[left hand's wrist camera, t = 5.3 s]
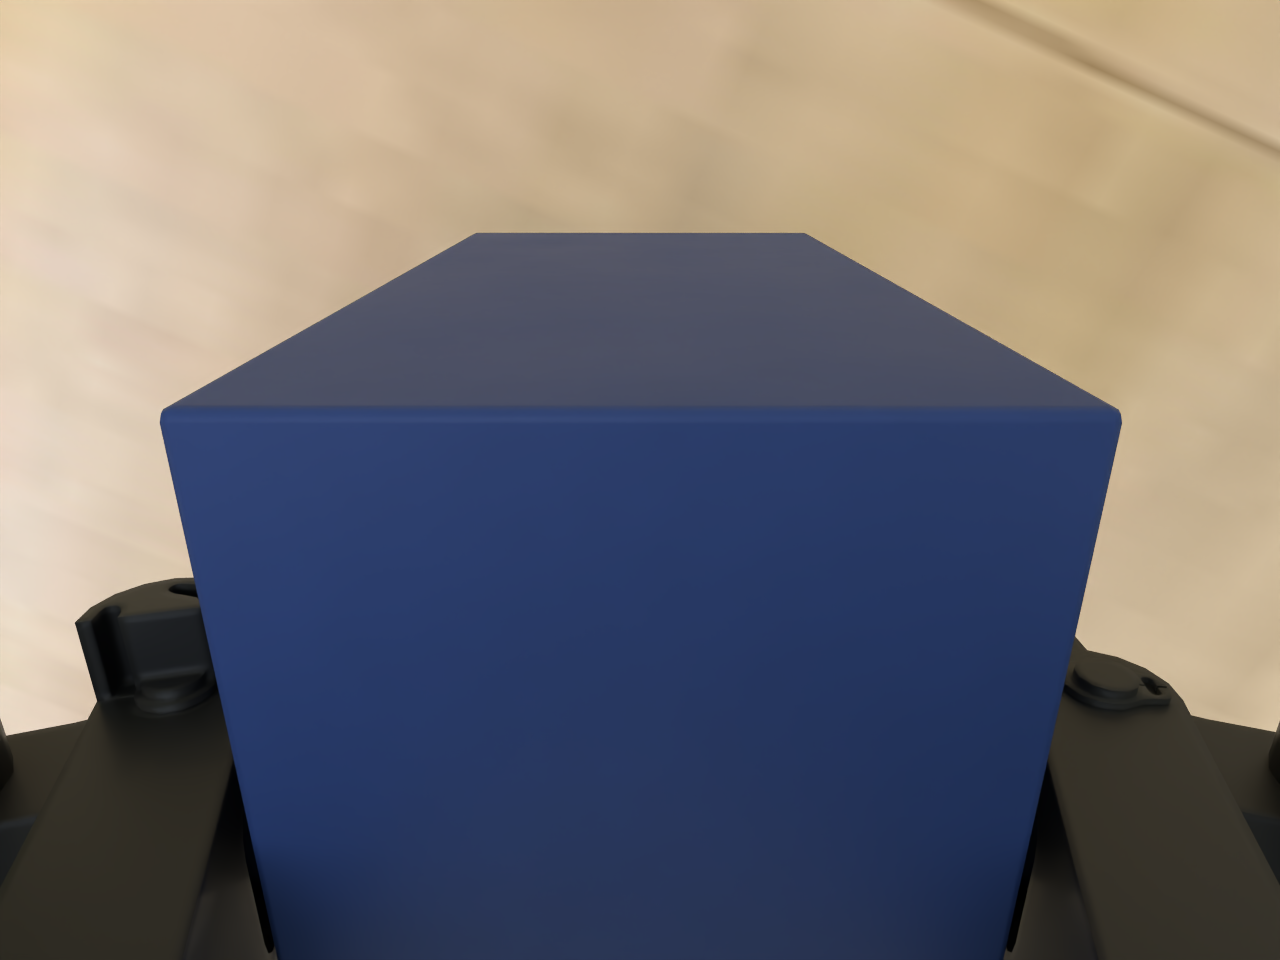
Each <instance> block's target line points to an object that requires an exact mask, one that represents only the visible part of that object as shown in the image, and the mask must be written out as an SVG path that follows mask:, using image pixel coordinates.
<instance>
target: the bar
mask: <svg viewBox="0 0 1280 960" xmlns="http://www.w3.org/2000/svg"><path fill="white" fill-rule="evenodd" d="M1121 425H1122V420H1121V414H1120V412H1119V410H1118V409H1116V408H1115V407H1113V406H1111V405H1109V404H1108V403H1106V402H1104V401H1102V400H1100V399H1099V398H1097V397H1095V396H1093V395H1092V394H1090V393H1088V392H1086V391H1084V390H1083V389H1081V388H1079V387H1077V386H1076V385H1074V384H1072V383H1070V382H1068V381H1067V380H1065V379H1063V378H1061V377H1060V376H1058V375H1056V374H1054V373H1052V372H1051V371H1049V370H1047V369H1045V368H1044V367H1042V366H1040V365H1038V364H1036V363H1035V362H1033V361H1031V360H1029V359H1028V358H1026V357H1024V356H1022V355H1020V354H1019V353H1017V352H1015V351H1013V350H1012V349H1010V348H1008V347H1006V346H1004V345H1003V344H1001V343H999V342H997V341H996V340H994V339H992V338H990V337H988V336H987V335H985V334H983V333H981V332H980V331H978V330H976V329H974V328H972V327H971V326H969V325H967V324H965V323H964V322H962V321H960V320H958V319H956V318H955V317H953V316H951V315H949V314H948V313H946V312H944V311H942V310H940V309H939V308H937V307H935V306H933V305H932V304H930V303H928V302H926V301H924V300H923V299H921V298H919V297H917V296H916V295H914V294H912V293H910V292H908V291H907V290H905V289H903V288H901V287H900V286H898V285H896V284H894V283H892V282H891V281H889V280H887V279H885V278H884V277H882V276H880V275H878V274H876V273H875V272H873V271H871V270H869V269H868V268H866V267H864V266H862V265H860V264H859V263H857V262H855V261H853V260H852V259H850V258H848V257H846V256H844V255H843V254H841V253H839V252H837V251H836V250H834V249H832V248H830V247H828V246H827V245H825V244H823V243H821V242H820V241H818V240H816V239H814V238H813V237H811V236H809V235H807V234H805V233H476V234H473V235H472V236H470V237H468V238H466V239H464V240H463V241H461V242H459V243H457V244H456V245H454V246H452V247H450V248H448V249H447V250H445V251H443V252H441V253H440V254H438V255H436V256H434V257H433V258H431V259H429V260H427V261H425V262H424V263H422V264H420V265H418V266H417V267H415V268H413V269H411V270H409V271H408V272H406V273H404V274H402V275H401V276H399V277H397V278H395V279H394V280H392V281H390V282H388V283H386V284H385V285H383V286H381V287H379V288H378V289H376V290H374V291H372V292H370V293H369V294H367V295H365V296H363V297H362V298H360V299H358V300H356V301H355V302H353V303H351V304H349V305H347V306H346V307H344V308H342V309H340V310H339V311H337V312H335V313H333V314H331V315H330V316H328V317H326V318H324V319H323V320H321V321H319V322H317V323H316V324H314V325H312V326H310V327H308V328H307V329H305V330H303V331H301V332H300V333H298V334H296V335H294V336H292V337H291V338H289V339H287V340H285V341H284V342H282V343H280V344H278V345H277V346H275V347H273V348H271V349H269V350H268V351H266V352H264V353H262V354H261V355H259V356H257V357H255V358H253V359H252V360H250V361H248V362H246V363H245V364H243V365H241V366H239V367H238V368H236V369H234V370H232V371H230V372H229V373H227V374H225V375H223V376H222V377H220V378H218V379H216V380H214V381H213V382H211V383H209V384H207V385H206V386H204V387H202V388H200V389H199V390H197V391H195V392H193V393H191V394H190V395H188V396H186V397H184V398H183V399H181V400H179V401H177V402H175V403H174V404H172V405H170V406H168V407H167V408H165V409H163V411H162V413H161V418H160V426H161V430H162V435H163V439H164V444H165V448H166V453H167V457H168V462H169V467H170V471H171V476H172V480H173V485H174V489H175V494H176V499H177V503H178V508H179V512H180V517H181V521H182V526H183V530H184V535H185V540H186V544H187V549H188V553H189V558H190V562H191V567H192V571H193V576H194V581H195V585H196V590H197V594H198V599H199V603H200V608H201V612H202V617H203V622H204V626H205V631H206V635H207V640H208V644H209V649H210V653H211V658H212V663H213V667H214V672H215V676H216V681H217V685H218V690H219V694H220V699H221V704H222V708H223V713H224V717H225V722H226V726H227V731H228V735H229V740H230V745H231V749H232V754H233V758H234V763H235V767H236V772H237V777H238V781H239V786H240V790H241V795H242V799H243V804H244V808H245V813H246V818H247V822H248V827H249V831H250V836H251V840H252V845H253V849H254V854H255V859H256V863H257V868H258V872H259V877H260V881H261V886H262V890H263V895H264V900H265V904H266V909H267V913H268V918H269V922H270V927H271V931H272V936H273V941H274V945H275V950H276V954H277V959H278V960H1003V959H1004V954H1005V950H1006V945H1007V941H1008V936H1009V932H1010V927H1011V923H1012V918H1013V914H1014V909H1015V905H1016V900H1017V896H1018V891H1019V886H1020V882H1021V877H1022V873H1023V868H1024V864H1025V859H1026V855H1027V850H1028V846H1029V841H1030V837H1031V832H1032V828H1033V823H1034V819H1035V814H1036V810H1037V805H1038V800H1039V796H1040V791H1041V787H1042V782H1043V778H1044V773H1045V769H1046V764H1047V760H1048V755H1049V751H1050V746H1051V742H1052V737H1053V733H1054V728H1055V724H1056V719H1057V714H1058V710H1059V705H1060V701H1061V696H1062V692H1063V687H1064V683H1065V678H1066V674H1067V669H1068V665H1069V660H1070V656H1071V651H1072V647H1073V642H1074V638H1075V633H1076V628H1077V624H1078V619H1079V615H1080V610H1081V606H1082V601H1083V597H1084V592H1085V588H1086V583H1087V579H1088V574H1089V570H1090V565H1091V561H1092V556H1093V552H1094V547H1095V542H1096V538H1097V533H1098V529H1099V524H1100V520H1101V515H1102V511H1103V506H1104V502H1105V497H1106V493H1107V488H1108V484H1109V479H1110V475H1111V470H1112V466H1113V461H1114V456H1115V452H1116V447H1117V443H1118V438H1119V434H1120V429H1121Z"/></svg>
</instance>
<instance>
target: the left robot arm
mask: <svg viewBox="0 0 1280 960" xmlns="http://www.w3.org/2000/svg"><path fill="white" fill-rule="evenodd" d="M75 625H76V628H77V632H78V635H79V639H80V642H81V646H82V649H83V653H84V656H85V660H86V663H87V667H88V670H89V674H90V677H91V681H92V685H93V688H94V692H95V695H96V699H97V703H96V705H95V707H94V709H93V710H92V712H91V714H90V716H89V718H88V720H85V721H80V722H76V723H71V724H66V725H61V726H56V727H50V728H45V729H40V730H34V731H29V732H24V733H19V734H13V735H8V736H6V734H5V731H4V728H3V725H2V722H1V720H0V960H278V959H277V954H276V950H275V945H274V941H273V936H272V931H271V927H270V922H269V918H268V913H267V909H266V904H265V900H264V895H263V890H262V886H261V881H260V877H259V872H258V868H257V863H256V859H255V854H254V849H253V845H252V840H251V836H250V831H249V827H248V822H247V818H246V813H245V808H244V804H243V799H242V795H241V790H240V786H239V781H238V777H237V772H236V767H235V763H234V758H233V754H232V749H231V745H230V740H229V735H228V731H227V726H226V722H225V717H224V713H223V708H222V704H221V699H220V694H219V690H218V685H217V681H216V676H215V672H214V667H213V663H212V658H211V653H210V649H209V644H208V640H207V635H206V631H205V626H204V622H203V617H202V612H201V608H200V603H199V599H198V594H197V590H196V585H195V581H194V578H174V579H169V580H164V581H158V582H153V583H148V584H144V585H141V586H138V587H135V588H132V589H129V590H126V591H123V592H120V593H117V594H115V595H113V596H111V597H109V598H107V599H106V600H104V601H102V602H100V603H98V604H96V605H95V606H93V607H91V608H90V609H89V610H88V611H87V612H86V613H84V614H83V615H82V616H81V617H80V618H79V619H78V620H77V621H76V622H75ZM1003 960H1280V722H1279V725H1278V728H1277V731H1276V732H1272V731H1267V730H1262V729H1256V728H1251V727H1246V726H1240V725H1235V724H1230V723H1224V722H1219V721H1214V720H1208V719H1204V718H1200V717H1196V716H1192V715H1190V713H1189V711H1188V709H1187V707H1186V705H1185V703H1184V701H1183V700H1182V699H1181V697H1180V696H1179V695H1178V694H1177V693H1176V692H1175V690H1174V689H1173V688H1172V687H1171V686H1170V685H1169V683H1167V682H1166V681H1164V680H1162V679H1161V678H1159V677H1158V676H1156V675H1155V674H1153V673H1152V672H1150V671H1149V670H1147V669H1146V668H1143V667H1141V666H1138V665H1136V664H1133V663H1131V662H1128V661H1126V660H1123V659H1121V658H1118V657H1115V656H1110V655H1106V654H1101V653H1097V652H1092V651H1087V650H1086V648H1085V647H1084V646H1083V645H1082V644H1081V643H1080V642H1079V640H1078V639H1077V638H1076V637H1075V638H1074V642H1073V647H1072V651H1071V656H1070V660H1069V665H1068V669H1067V674H1066V678H1065V683H1064V687H1063V692H1062V696H1061V701H1060V705H1059V710H1058V714H1057V719H1056V724H1055V728H1054V733H1053V737H1052V742H1051V746H1050V751H1049V755H1048V760H1047V764H1046V769H1045V773H1044V778H1043V782H1042V787H1041V791H1040V796H1039V800H1038V805H1037V810H1036V814H1035V819H1034V823H1033V828H1032V832H1031V837H1030V841H1029V846H1028V850H1027V855H1026V859H1025V864H1024V868H1023V873H1022V877H1021V882H1020V886H1019V891H1018V896H1017V900H1016V905H1015V909H1014V914H1013V918H1012V923H1011V927H1010V932H1009V936H1008V941H1007V945H1006V950H1005V954H1004V959H1003Z"/></svg>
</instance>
